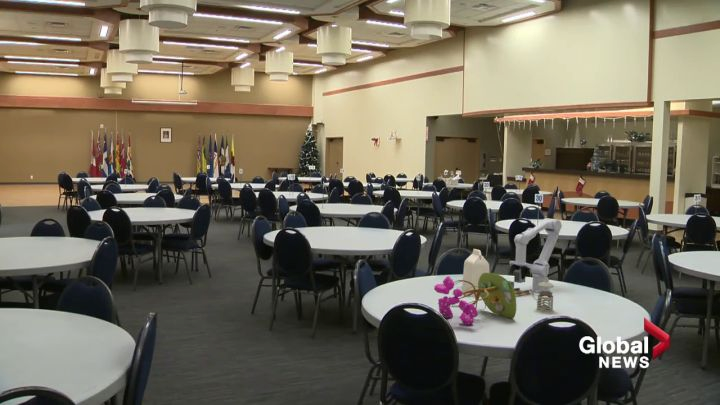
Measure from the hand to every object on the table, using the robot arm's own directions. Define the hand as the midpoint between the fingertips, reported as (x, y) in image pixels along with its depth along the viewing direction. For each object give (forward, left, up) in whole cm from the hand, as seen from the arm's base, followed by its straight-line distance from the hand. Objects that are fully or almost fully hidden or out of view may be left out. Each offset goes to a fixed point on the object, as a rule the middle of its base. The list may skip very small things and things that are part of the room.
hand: (520, 278), depth 374 cm
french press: (+23, +34, -9) cm, 42 cm away
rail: (+5, 0, -9) cm, 10 cm away
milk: (+24, -12, -9) cm, 28 cm away
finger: (0, 0, -2) cm, 2 cm away
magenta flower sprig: (+67, +26, -9) cm, 72 cm away
